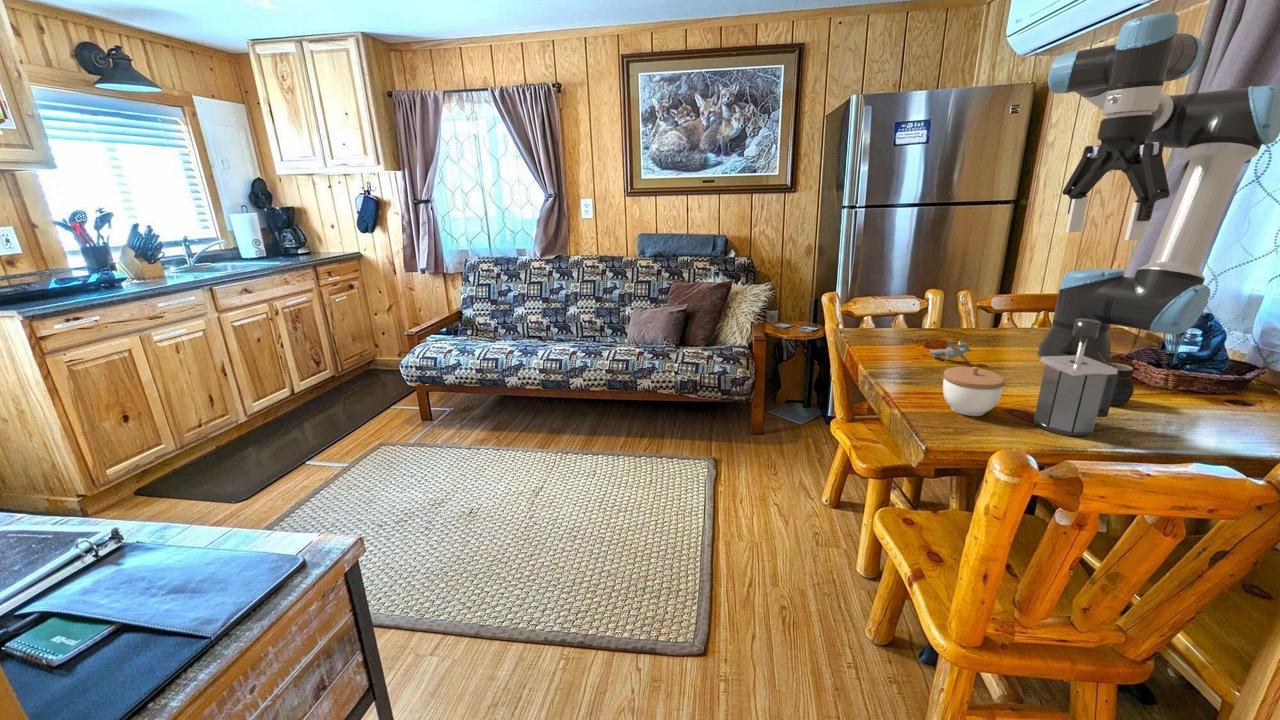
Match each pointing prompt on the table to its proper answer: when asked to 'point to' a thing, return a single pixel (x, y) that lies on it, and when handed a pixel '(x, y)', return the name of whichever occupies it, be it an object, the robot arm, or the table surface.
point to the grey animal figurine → (952, 351)
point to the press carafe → (1074, 395)
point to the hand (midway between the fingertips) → (1101, 235)
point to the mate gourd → (1121, 383)
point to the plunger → (1084, 335)
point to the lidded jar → (972, 389)
